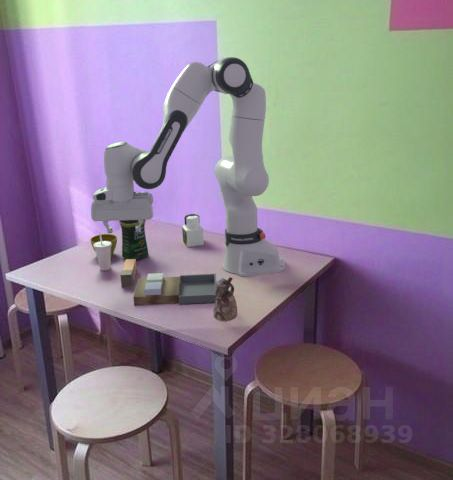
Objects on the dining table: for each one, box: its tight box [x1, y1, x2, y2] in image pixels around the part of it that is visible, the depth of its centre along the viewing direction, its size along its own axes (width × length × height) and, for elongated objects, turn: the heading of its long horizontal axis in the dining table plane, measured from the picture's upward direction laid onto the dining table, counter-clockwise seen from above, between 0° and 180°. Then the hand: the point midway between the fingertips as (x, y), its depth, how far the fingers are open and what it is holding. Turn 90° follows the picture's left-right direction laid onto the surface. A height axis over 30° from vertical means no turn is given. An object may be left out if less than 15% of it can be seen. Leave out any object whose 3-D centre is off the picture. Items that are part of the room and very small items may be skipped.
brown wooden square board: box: [132, 276, 181, 307], centre depth 169 cm, size 14×14×3 cm
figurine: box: [213, 276, 238, 322], centre depth 153 cm, size 7×7×12 cm
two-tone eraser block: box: [120, 259, 138, 289], centre depth 181 cm, size 4×14×5 cm, turn 3°
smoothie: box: [94, 231, 112, 272], centre depth 189 cm, size 6×6×14 cm
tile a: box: [146, 272, 164, 285], centre depth 171 cm, size 5×5×2 cm
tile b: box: [145, 282, 162, 295], centre depth 165 cm, size 5×5×2 cm
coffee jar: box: [118, 220, 149, 261], centre depth 198 cm, size 10×8×19 cm
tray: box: [178, 273, 217, 306], centre depth 169 cm, size 12×16×3 cm
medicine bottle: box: [181, 213, 205, 248], centre depth 211 cm, size 7×7×12 cm
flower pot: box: [90, 233, 118, 257], centre depth 202 cm, size 10×10×7 cm
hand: (124, 232), depth 176 cm, fingers open, 8 cm apart
